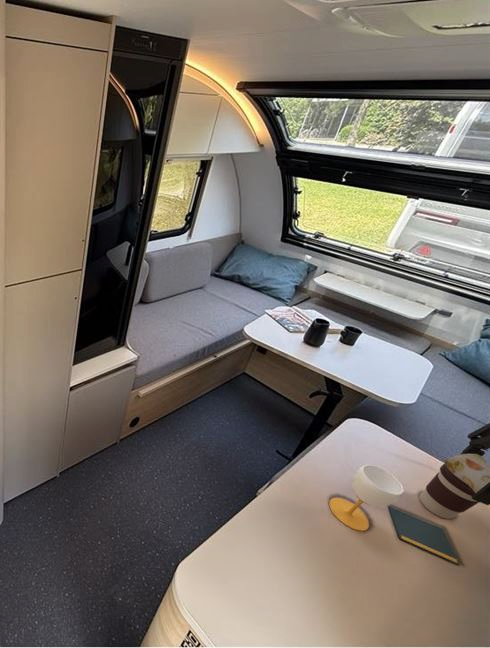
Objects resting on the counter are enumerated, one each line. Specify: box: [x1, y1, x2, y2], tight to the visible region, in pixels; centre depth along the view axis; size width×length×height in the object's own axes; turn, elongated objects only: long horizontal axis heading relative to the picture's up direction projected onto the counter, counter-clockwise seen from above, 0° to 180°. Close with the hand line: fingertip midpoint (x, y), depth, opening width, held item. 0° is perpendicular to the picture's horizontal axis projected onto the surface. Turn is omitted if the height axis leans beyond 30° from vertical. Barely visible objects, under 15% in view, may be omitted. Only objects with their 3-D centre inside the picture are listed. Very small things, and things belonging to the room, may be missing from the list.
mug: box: [444, 453, 490, 493], centre depth 86 cm, size 8×10×10 cm
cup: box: [328, 464, 405, 532], centre depth 94 cm, size 9×9×16 cm
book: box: [387, 505, 461, 566], centre depth 95 cm, size 12×10×1 cm
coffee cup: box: [419, 462, 480, 520], centre depth 99 cm, size 10×10×15 cm
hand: (468, 482), depth 87 cm, fingers closed on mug, 10 cm apart
